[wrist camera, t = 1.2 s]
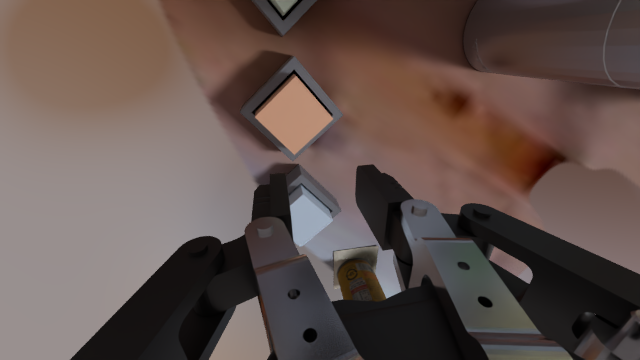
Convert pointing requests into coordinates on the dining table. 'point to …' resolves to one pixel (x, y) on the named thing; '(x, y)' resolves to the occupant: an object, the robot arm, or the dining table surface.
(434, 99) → the dining table surface
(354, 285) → the condiment
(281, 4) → the sage green button
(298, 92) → the terracotta button
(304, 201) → the dusty blue button
